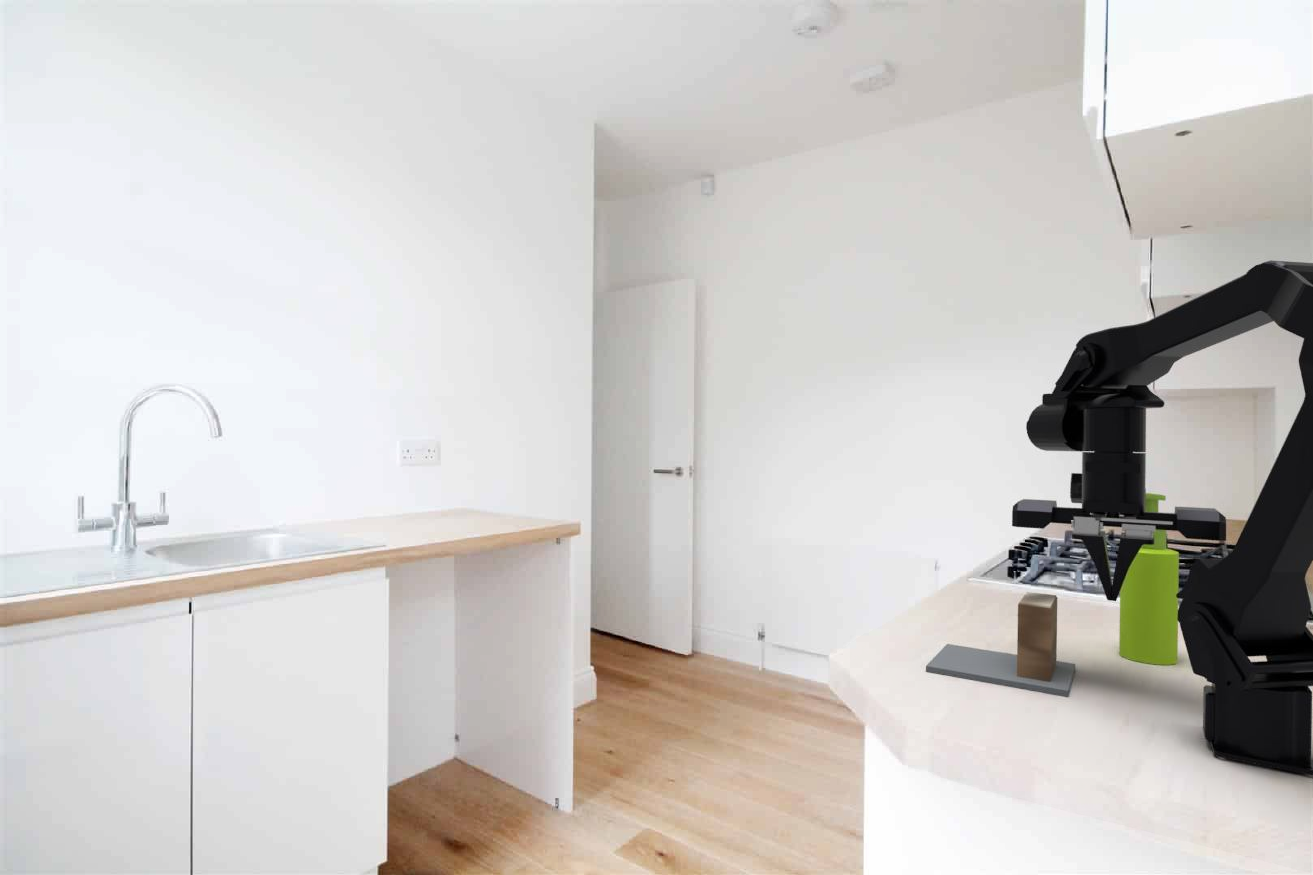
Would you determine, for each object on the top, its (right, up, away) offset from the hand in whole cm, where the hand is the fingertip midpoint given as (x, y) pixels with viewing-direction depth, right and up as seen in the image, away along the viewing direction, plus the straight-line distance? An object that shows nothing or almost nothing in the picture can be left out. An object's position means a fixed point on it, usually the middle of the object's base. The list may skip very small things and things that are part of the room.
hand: (1111, 600), depth 78 cm
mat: (-9, -9, +6) cm, 14 cm away
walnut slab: (-6, -9, +4) cm, 11 cm away
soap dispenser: (+11, -10, +12) cm, 19 cm away
